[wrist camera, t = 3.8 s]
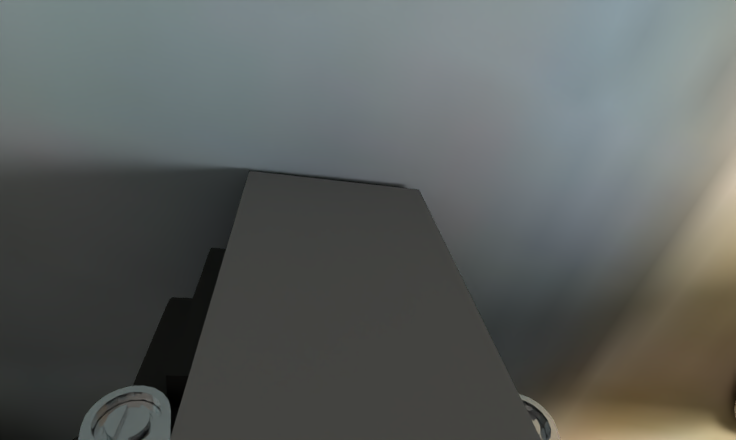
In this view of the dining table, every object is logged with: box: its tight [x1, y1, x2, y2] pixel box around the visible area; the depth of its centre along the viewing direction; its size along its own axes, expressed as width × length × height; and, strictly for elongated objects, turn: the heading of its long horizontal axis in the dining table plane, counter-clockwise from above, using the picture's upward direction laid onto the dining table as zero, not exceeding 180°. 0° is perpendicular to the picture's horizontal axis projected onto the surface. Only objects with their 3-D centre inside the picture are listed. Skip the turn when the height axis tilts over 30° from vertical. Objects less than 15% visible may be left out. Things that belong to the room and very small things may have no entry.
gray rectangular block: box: [170, 171, 541, 440], centre depth 9 cm, size 4×6×8 cm
